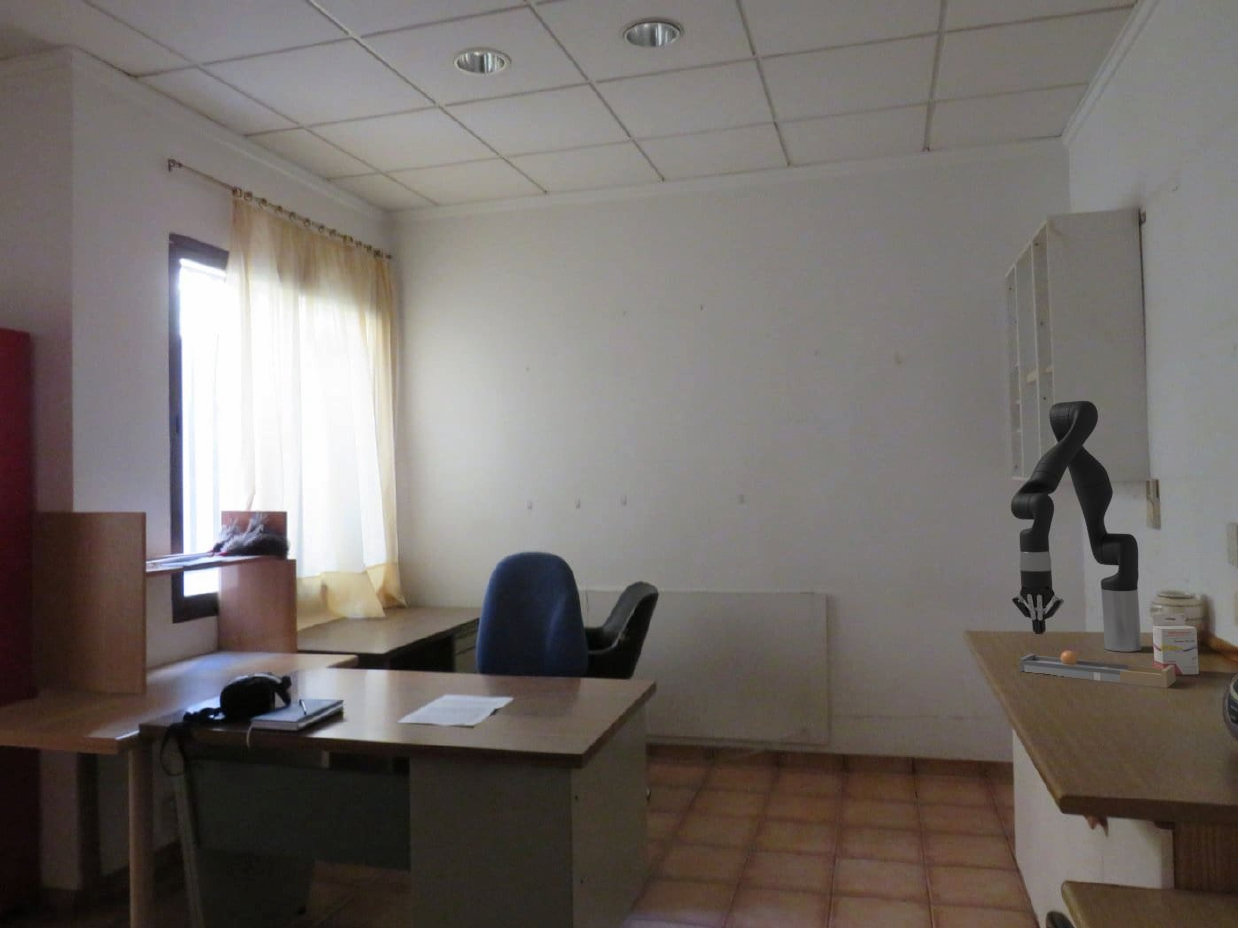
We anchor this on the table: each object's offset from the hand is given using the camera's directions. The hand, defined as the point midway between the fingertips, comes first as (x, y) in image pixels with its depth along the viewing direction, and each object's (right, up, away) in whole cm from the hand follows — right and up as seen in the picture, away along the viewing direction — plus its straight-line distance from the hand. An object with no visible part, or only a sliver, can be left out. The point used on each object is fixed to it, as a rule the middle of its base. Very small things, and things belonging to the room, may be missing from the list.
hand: (1039, 633), depth 238 cm
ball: (+5, -5, -5) cm, 9 cm away
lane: (+11, -9, -10) cm, 17 cm away
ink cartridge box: (+30, -8, -10) cm, 33 cm away
